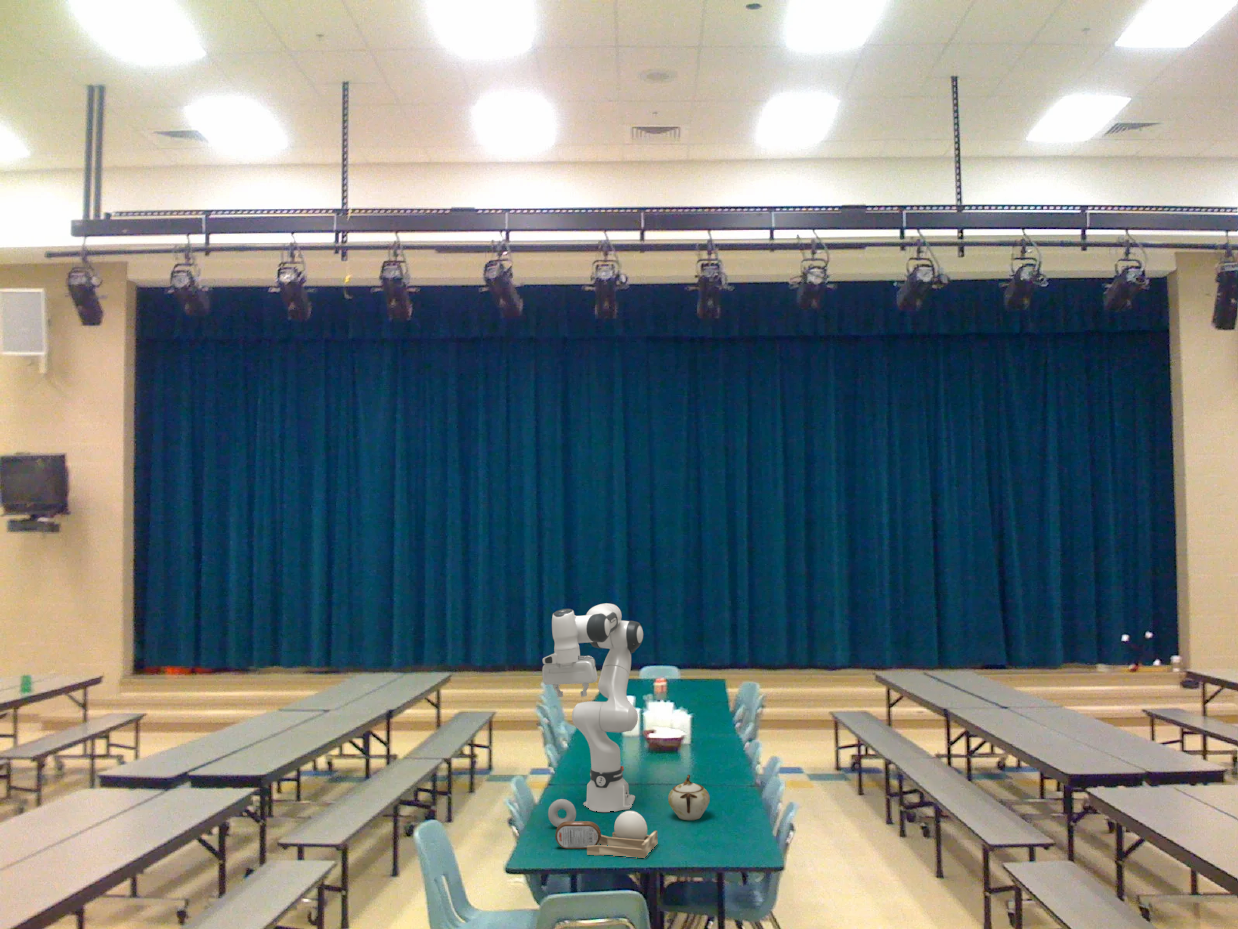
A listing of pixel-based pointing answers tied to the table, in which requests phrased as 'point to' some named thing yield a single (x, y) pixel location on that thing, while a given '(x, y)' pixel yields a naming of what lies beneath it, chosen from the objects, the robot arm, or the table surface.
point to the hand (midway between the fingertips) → (572, 696)
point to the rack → (624, 846)
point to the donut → (557, 806)
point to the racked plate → (630, 826)
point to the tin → (577, 834)
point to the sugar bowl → (688, 800)
